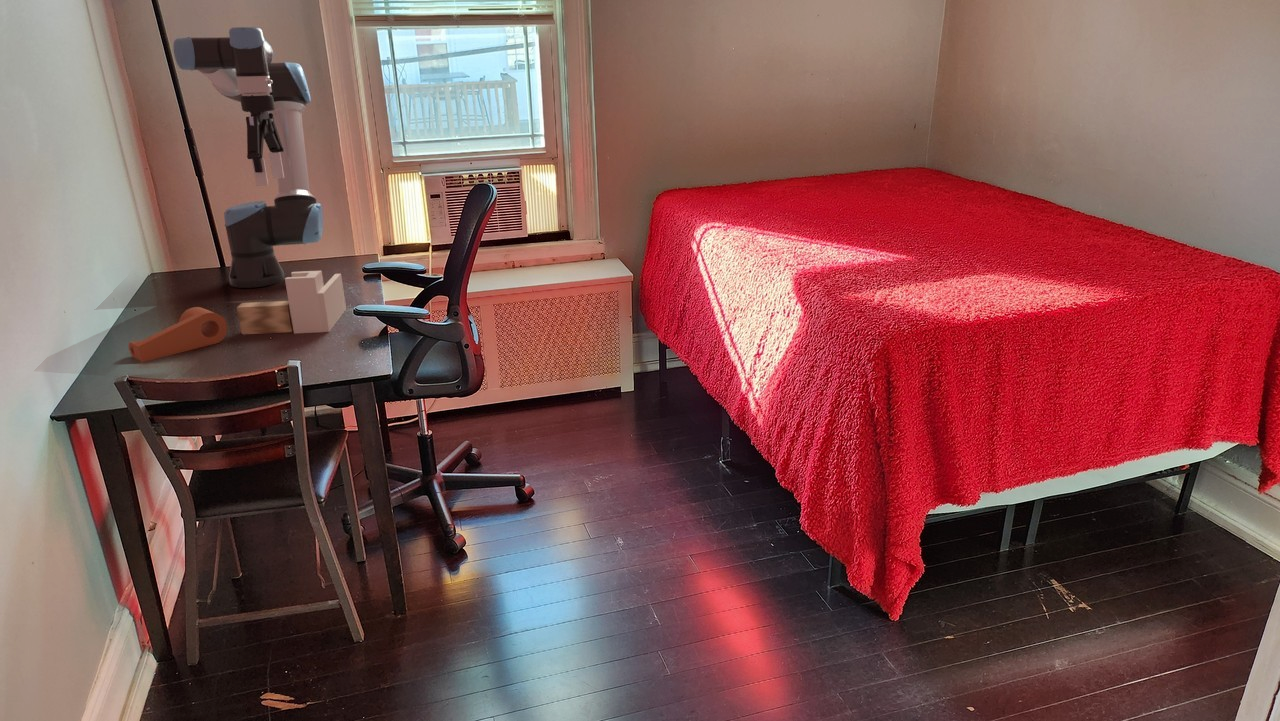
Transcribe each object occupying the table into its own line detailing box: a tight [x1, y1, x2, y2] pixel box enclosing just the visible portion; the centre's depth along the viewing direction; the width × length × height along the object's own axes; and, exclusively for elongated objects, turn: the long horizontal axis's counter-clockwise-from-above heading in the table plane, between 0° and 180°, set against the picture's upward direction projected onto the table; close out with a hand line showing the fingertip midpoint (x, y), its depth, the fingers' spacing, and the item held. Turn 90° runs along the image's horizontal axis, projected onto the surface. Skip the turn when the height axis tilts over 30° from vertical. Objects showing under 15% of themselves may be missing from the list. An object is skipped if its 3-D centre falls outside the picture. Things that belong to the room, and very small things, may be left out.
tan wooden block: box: [236, 300, 294, 335], centre depth 209 cm, size 15×4×7 cm, turn 96°
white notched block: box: [284, 270, 347, 335], centre depth 215 cm, size 8×20×14 cm, turn 6°
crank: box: [128, 306, 228, 363], centre depth 198 cm, size 20×8×8 cm, turn 139°
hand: (270, 181), depth 213 cm, fingers open, 13 cm apart
